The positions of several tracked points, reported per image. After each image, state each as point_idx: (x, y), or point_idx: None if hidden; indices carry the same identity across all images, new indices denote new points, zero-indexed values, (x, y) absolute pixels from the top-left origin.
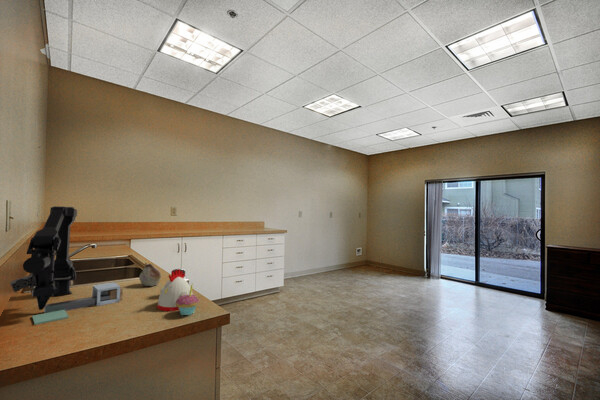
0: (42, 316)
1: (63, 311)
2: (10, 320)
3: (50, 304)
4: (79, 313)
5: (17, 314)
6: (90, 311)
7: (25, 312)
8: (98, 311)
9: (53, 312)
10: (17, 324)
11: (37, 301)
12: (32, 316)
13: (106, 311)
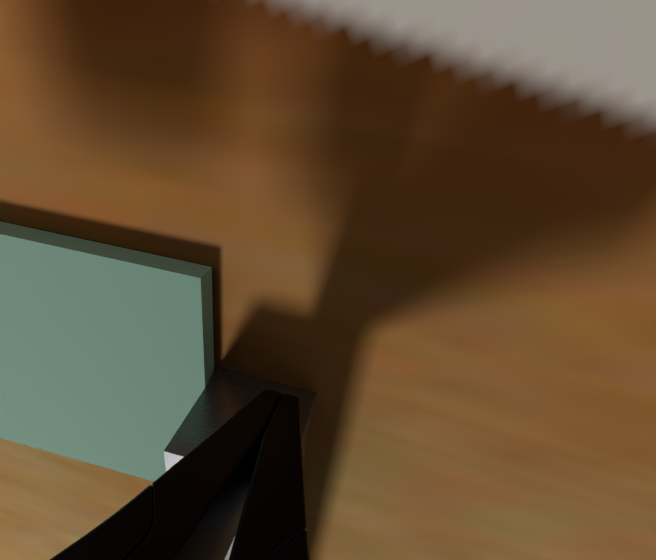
0: (94, 328)
1: (148, 470)
2: (280, 25)
3: None
4: (77, 491)
5: (556, 184)
6: (84, 532)
7: (549, 287)
8: (56, 544)
9: (176, 426)
10: (13, 67)
11: (163, 498)
12: (168, 270)
13: (31, 555)
